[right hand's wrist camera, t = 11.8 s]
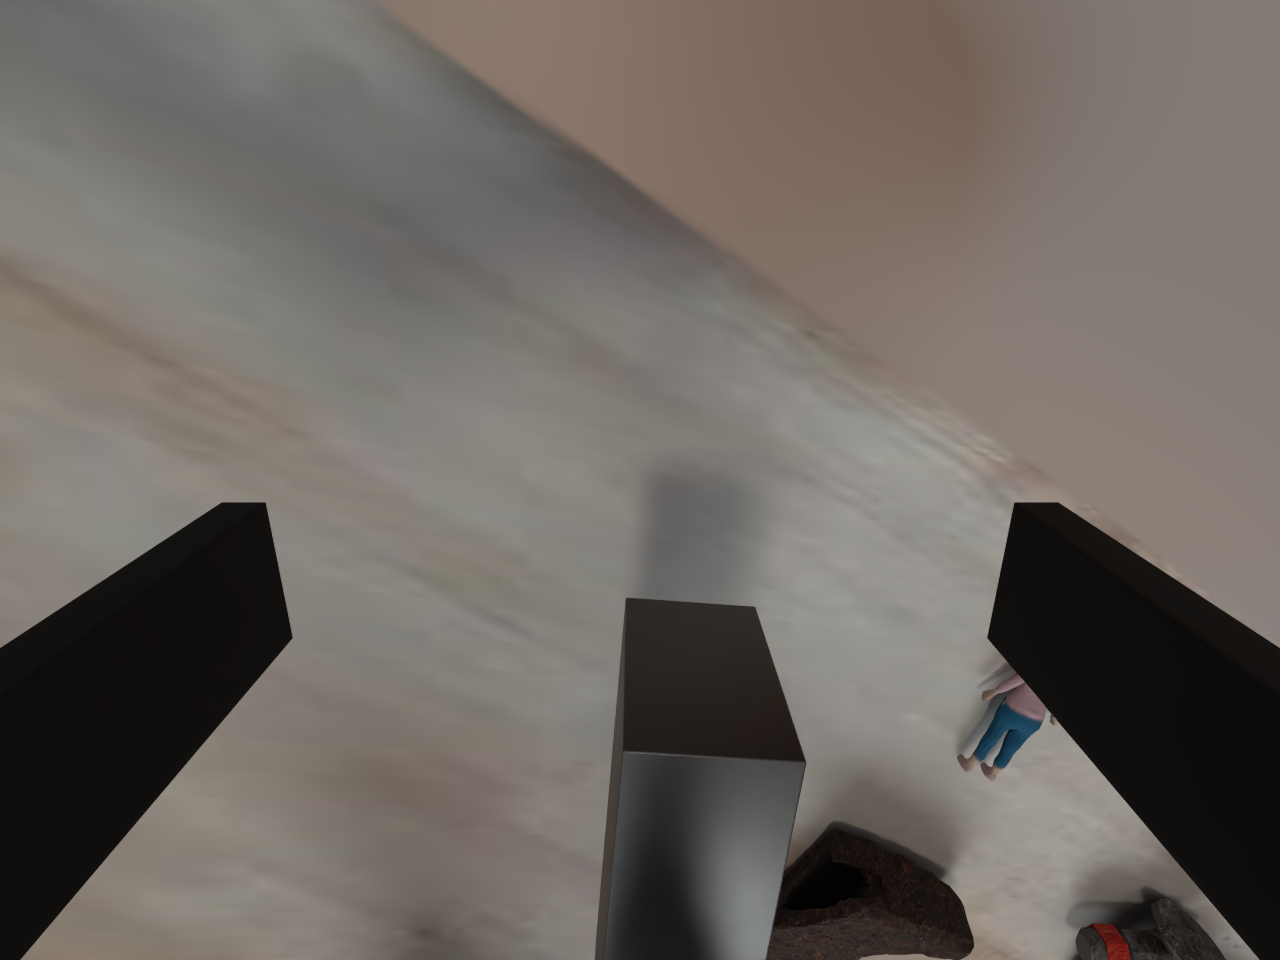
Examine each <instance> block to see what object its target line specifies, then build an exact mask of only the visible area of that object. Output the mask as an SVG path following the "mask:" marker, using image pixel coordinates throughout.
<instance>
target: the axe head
mask: <svg viewBox="0 0 1280 960" xmlns="http://www.w3.org/2000/svg"><path fill="white" fill-rule="evenodd" d="M973 948H974V941H973V936H972V933H971V930H970V927H969V924H968V921H967V917H966V913H965V909H964V906H963V904H962V902H961V900H960V899H959V897H958V896H957V895H956V893H955V892H954V891H953V890H952V889H951V887H950V886H949V885H947V884H945V883H944V882H942V881H941V880H939V879H937V878H936V877H935V876H934V875H933V873H931V872H928V871H926V870H924V869H922V868H920V867H919V866H917V865H916V864H915V863H914V862H912V861H910V860H909V859H907V858H905V857H903V856H902V855H896V856H894V855H893V854H891V853H889V852H887V851H884V850H883V849H882V848H881V847H880V846H879V845H878V844H877V843H875V842H873V841H870V840H866V839H861V838H857V837H854V836H852V835H849V834H847V833H845V832H844V831H841V830H835V831H830V834H829V836H828V837H827V838H826V839H825V840H824V841H823V842H822V843H821V844H820V845H818V846H817V847H816V849H814V850H813V851H812V852H811V853H810V854H809V856H808V857H807V858H806V859H805V860H804V862H803V863H802V864H801V865H800V866H799V867H798V868H797V870H796V871H795V872H794V873H793V874H792V875H791V876H790V878H789V879H788V880H787V881H786V882H785V883H784V884H783V885H782V886H781V890H780V895H779V900H778V905H777V910H776V915H775V920H774V925H773V930H772V935H771V940H770V945H769V950H768V955H767V959H766V960H859V959H861V957H867V956H872V955H883V954H889V955H907V954H924V955H926V956H928V957H934V958H941V959H952V960H960V959H963V958H965V957H966V956H968V955H969V954H970V953H971V951H972V949H973Z"/></svg>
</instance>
